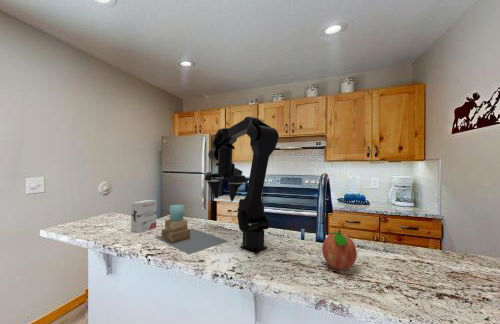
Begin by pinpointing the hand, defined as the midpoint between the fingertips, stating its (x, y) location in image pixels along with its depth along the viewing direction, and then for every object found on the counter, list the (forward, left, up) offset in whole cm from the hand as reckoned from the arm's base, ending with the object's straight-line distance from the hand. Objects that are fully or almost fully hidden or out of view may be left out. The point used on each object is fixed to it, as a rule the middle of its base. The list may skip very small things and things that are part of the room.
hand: (224, 199), depth 88 cm
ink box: (+24, +21, -13) cm, 34 cm away
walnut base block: (+5, +18, -13) cm, 23 cm away
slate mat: (+1, +15, -13) cm, 19 cm away
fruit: (-45, -1, -13) cm, 47 cm away
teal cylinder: (+5, +18, -6) cm, 20 cm away
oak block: (+5, +18, -9) cm, 21 cm away
